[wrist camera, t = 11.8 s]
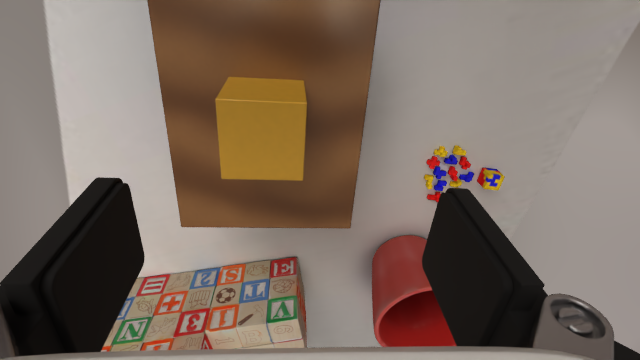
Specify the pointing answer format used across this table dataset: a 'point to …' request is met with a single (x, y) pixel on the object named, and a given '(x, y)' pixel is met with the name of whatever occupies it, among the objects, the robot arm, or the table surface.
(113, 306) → the robot arm
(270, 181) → the wooden board
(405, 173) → the table surface
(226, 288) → the stack of blocks
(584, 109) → the table surface
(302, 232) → the table surface
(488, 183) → the building blocks
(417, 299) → the flower pot
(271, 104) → the mustard block
